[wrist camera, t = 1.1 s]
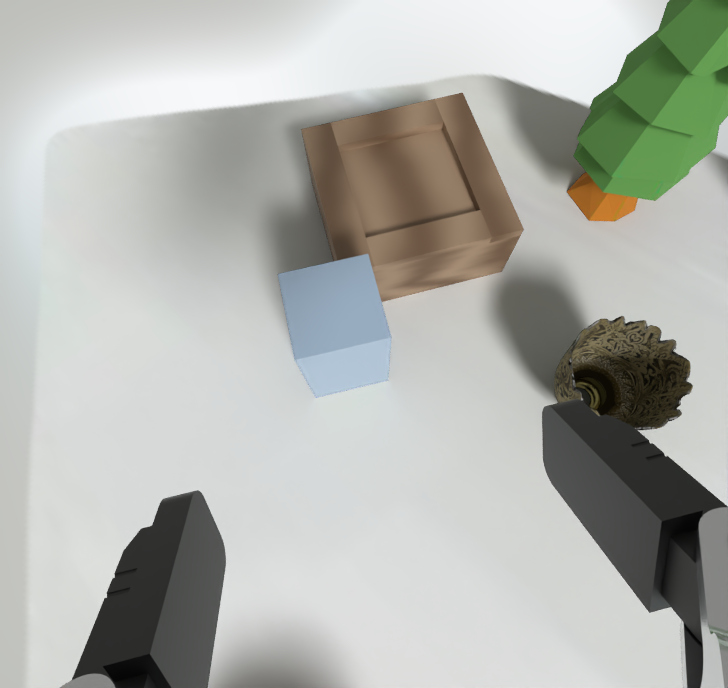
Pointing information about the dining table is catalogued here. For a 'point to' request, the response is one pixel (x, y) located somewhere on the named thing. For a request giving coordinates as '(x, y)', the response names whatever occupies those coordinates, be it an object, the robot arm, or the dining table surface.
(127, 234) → the dining table surface
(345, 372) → the blue-grey square-topped block
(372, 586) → the dining table surface
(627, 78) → the decorative tree
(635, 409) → the cup
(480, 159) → the square wooden tray
